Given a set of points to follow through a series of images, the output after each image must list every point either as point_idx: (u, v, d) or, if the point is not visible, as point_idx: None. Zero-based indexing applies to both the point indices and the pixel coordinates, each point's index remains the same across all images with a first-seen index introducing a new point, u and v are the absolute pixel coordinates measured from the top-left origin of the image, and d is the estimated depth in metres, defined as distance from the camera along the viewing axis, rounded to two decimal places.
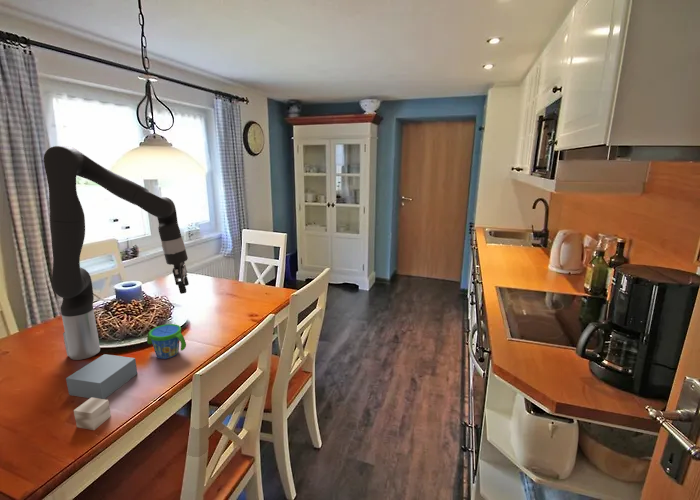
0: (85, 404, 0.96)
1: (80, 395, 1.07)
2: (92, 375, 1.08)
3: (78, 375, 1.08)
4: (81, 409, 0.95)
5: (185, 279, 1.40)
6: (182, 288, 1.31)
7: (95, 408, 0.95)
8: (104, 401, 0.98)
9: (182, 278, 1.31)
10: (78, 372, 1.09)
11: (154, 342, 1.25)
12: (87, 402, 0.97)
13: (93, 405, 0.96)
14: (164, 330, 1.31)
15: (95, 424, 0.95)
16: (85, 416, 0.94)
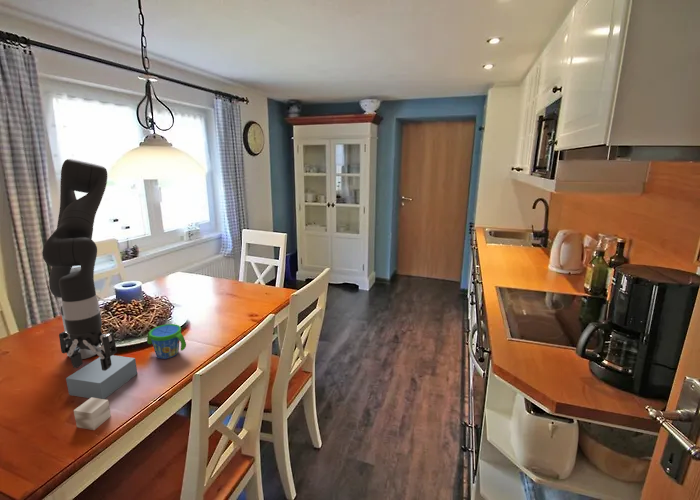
0: (85, 404, 0.96)
1: (80, 395, 1.07)
2: (92, 375, 1.08)
3: (78, 375, 1.08)
4: (81, 409, 0.95)
5: None
6: None
7: (95, 408, 0.95)
8: (104, 401, 0.98)
9: None
10: (78, 372, 1.09)
11: (154, 342, 1.25)
12: (87, 402, 0.97)
13: (93, 405, 0.96)
14: (164, 330, 1.31)
15: (95, 424, 0.95)
16: (85, 416, 0.94)
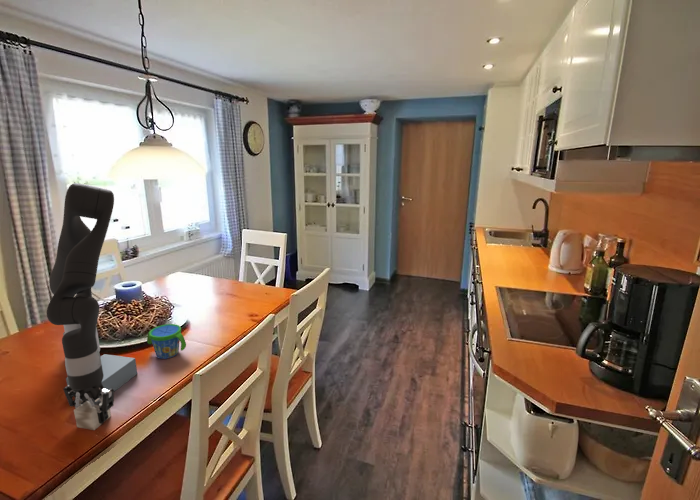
0: (85, 404, 0.96)
1: None
2: None
3: None
4: (81, 408, 0.95)
5: None
6: None
7: None
8: None
9: None
10: None
11: (154, 342, 1.25)
12: (87, 402, 0.97)
13: None
14: (164, 330, 1.31)
15: (95, 424, 0.95)
16: (85, 416, 0.94)
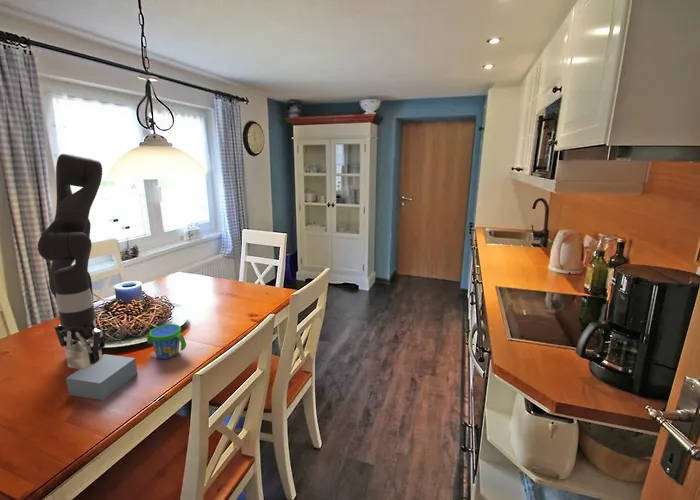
0: (76, 344, 0.96)
1: (80, 395, 1.07)
2: (92, 375, 1.08)
3: (78, 375, 1.08)
4: (72, 348, 0.94)
5: None
6: None
7: (86, 348, 0.94)
8: None
9: None
10: (78, 372, 1.09)
11: (154, 342, 1.25)
12: (79, 343, 0.97)
13: None
14: (164, 330, 1.31)
15: (86, 364, 0.94)
16: (76, 355, 0.93)
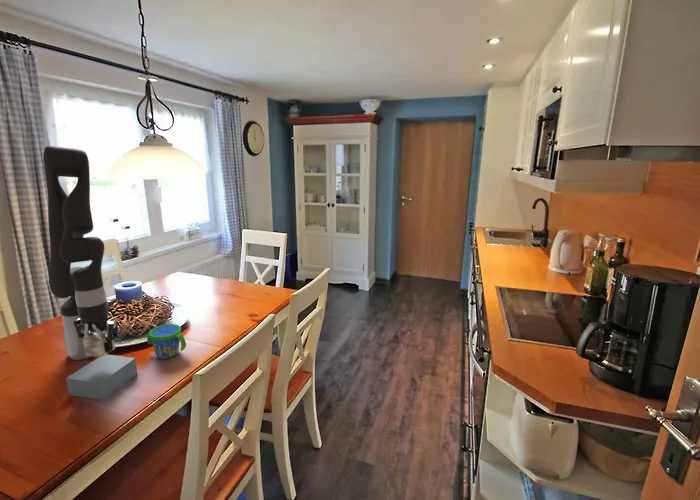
0: (92, 336, 1.10)
1: (80, 395, 1.07)
2: (92, 375, 1.08)
3: (78, 375, 1.08)
4: (89, 338, 1.08)
5: None
6: None
7: None
8: None
9: None
10: (78, 372, 1.09)
11: (154, 342, 1.25)
12: (94, 334, 1.10)
13: None
14: (164, 330, 1.31)
15: (102, 352, 1.08)
16: (93, 345, 1.07)
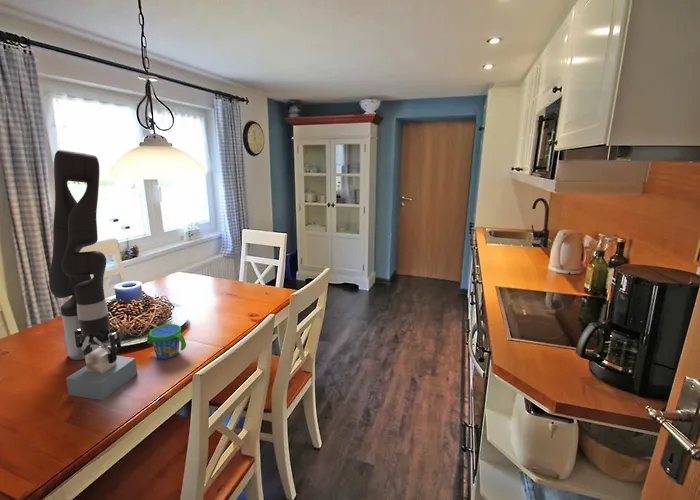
0: (94, 352, 1.11)
1: (80, 395, 1.07)
2: (92, 375, 1.08)
3: (78, 375, 1.08)
4: (91, 355, 1.09)
5: None
6: None
7: (103, 355, 1.09)
8: None
9: None
10: (78, 372, 1.09)
11: (154, 342, 1.25)
12: (96, 350, 1.12)
13: (101, 352, 1.11)
14: (164, 330, 1.31)
15: (103, 368, 1.09)
16: (94, 361, 1.08)
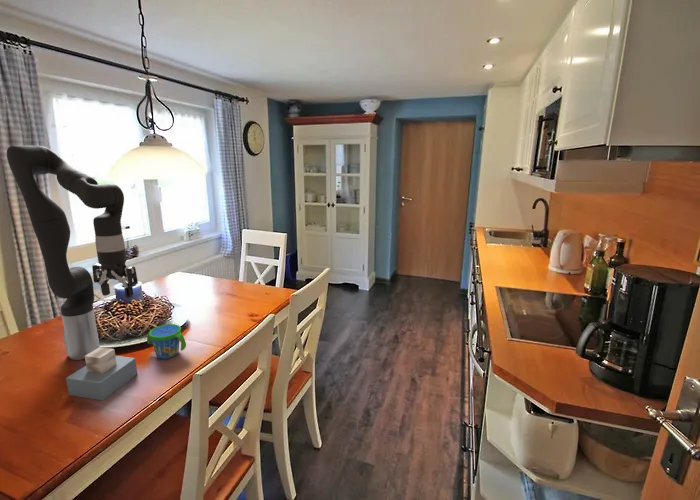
0: (94, 352, 1.11)
1: (80, 395, 1.07)
2: (92, 375, 1.08)
3: (78, 375, 1.08)
4: (91, 355, 1.09)
5: None
6: None
7: (103, 355, 1.09)
8: (111, 350, 1.12)
9: None
10: (78, 372, 1.09)
11: (154, 342, 1.25)
12: (96, 350, 1.12)
13: (101, 352, 1.11)
14: (164, 330, 1.31)
15: (103, 368, 1.09)
16: (94, 361, 1.08)
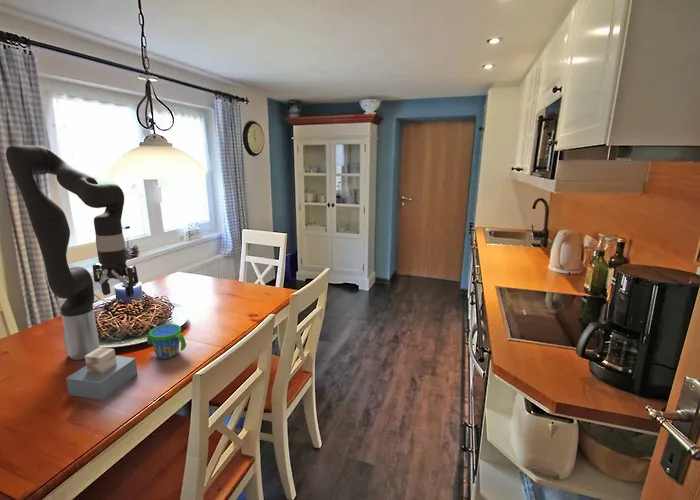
0: (94, 352, 1.11)
1: (80, 395, 1.07)
2: (92, 375, 1.08)
3: (78, 375, 1.08)
4: (91, 355, 1.09)
5: None
6: None
7: (103, 355, 1.09)
8: (111, 350, 1.12)
9: None
10: (78, 372, 1.09)
11: (154, 342, 1.25)
12: (96, 350, 1.12)
13: (101, 352, 1.11)
14: (164, 330, 1.31)
15: (103, 368, 1.09)
16: (94, 361, 1.08)
